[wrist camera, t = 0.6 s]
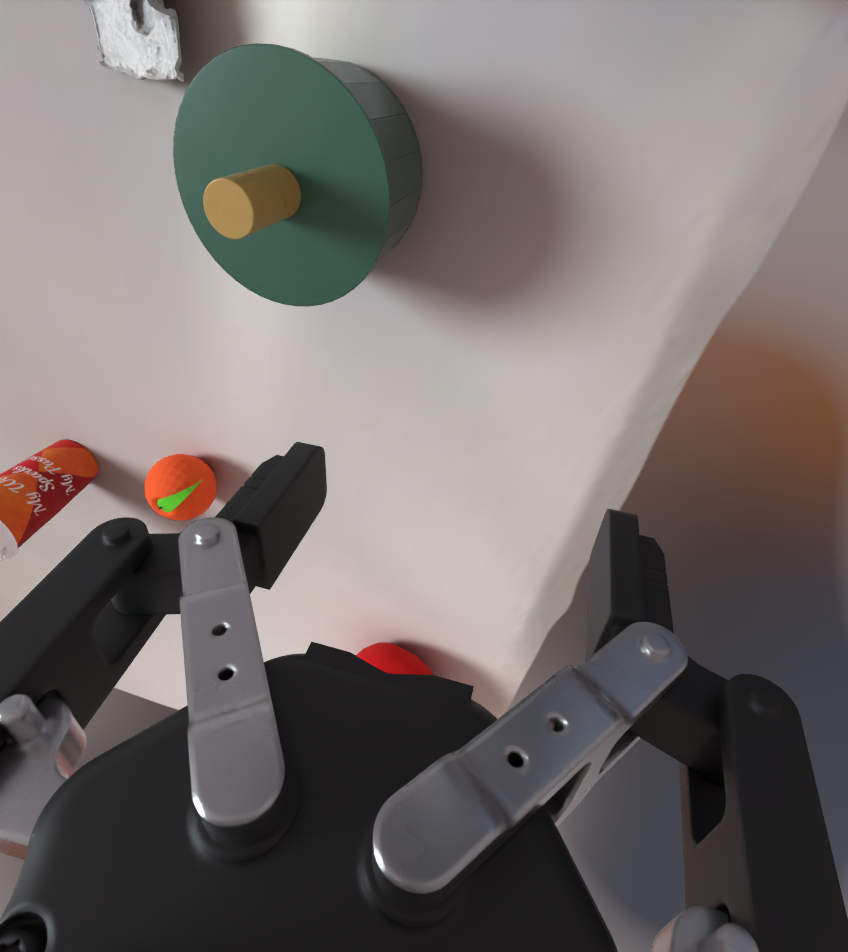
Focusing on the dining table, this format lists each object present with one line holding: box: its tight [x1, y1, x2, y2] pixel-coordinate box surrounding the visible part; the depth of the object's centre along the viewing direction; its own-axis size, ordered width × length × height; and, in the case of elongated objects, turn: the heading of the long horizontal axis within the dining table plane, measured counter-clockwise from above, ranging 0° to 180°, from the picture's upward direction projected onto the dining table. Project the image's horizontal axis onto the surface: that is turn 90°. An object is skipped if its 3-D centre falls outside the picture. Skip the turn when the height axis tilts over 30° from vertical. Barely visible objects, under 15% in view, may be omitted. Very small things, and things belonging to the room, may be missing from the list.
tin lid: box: [173, 44, 392, 306], centre depth 30 cm, size 13×13×7 cm
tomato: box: [356, 643, 433, 675], centre depth 67 cm, size 13×12×11 cm
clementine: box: [145, 454, 217, 520], centre depth 57 cm, size 8×7×7 cm
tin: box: [314, 58, 422, 258], centre depth 35 cm, size 12×13×8 cm
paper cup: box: [0, 440, 99, 561], centre depth 59 cm, size 8×8×14 cm
